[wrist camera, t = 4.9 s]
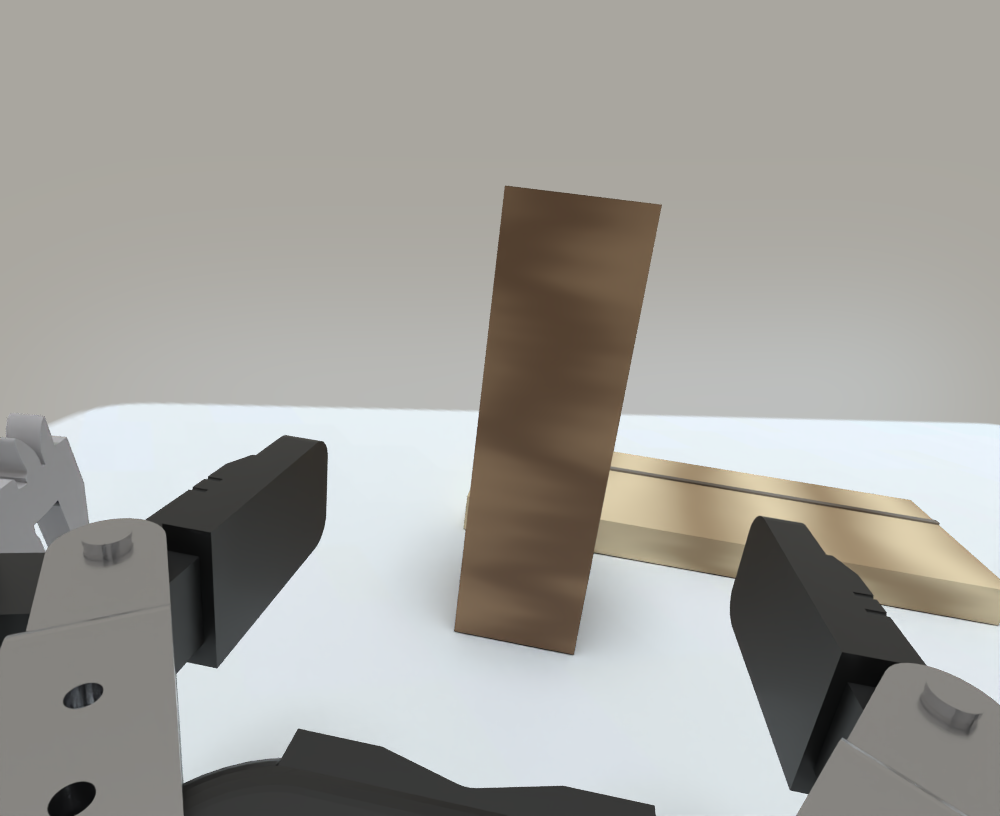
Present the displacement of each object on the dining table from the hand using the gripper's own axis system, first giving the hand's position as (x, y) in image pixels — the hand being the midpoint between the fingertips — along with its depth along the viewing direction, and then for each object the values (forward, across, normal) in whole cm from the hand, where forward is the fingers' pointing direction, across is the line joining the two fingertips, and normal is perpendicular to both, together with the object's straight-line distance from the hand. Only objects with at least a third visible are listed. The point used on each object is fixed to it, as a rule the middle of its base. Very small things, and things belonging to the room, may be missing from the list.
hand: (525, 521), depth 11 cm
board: (+17, -8, +8) cm, 20 cm away
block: (+13, 0, +8) cm, 15 cm away
